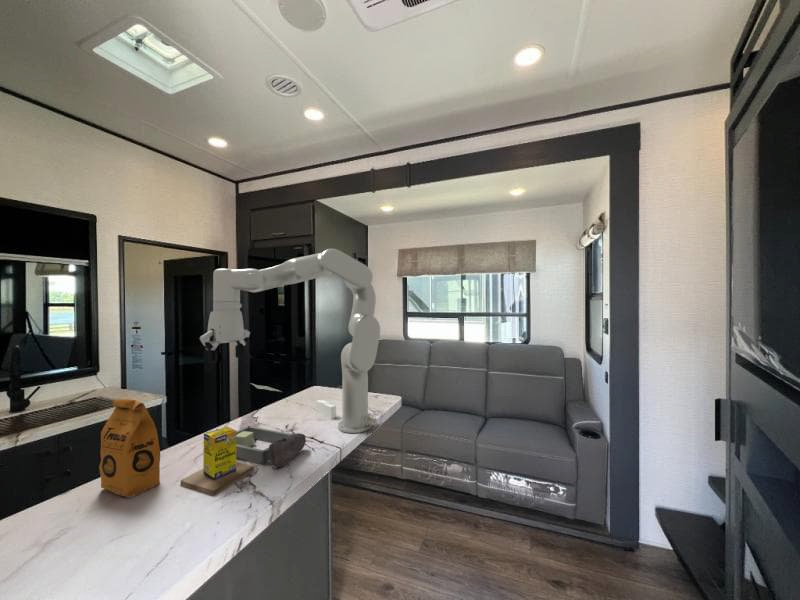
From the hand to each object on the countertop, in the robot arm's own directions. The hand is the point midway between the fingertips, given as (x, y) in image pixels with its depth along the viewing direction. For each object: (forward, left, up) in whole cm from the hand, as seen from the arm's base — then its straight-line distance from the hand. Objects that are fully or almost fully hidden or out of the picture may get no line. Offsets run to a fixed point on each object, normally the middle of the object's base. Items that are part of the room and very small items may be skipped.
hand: (226, 360), depth 100 cm
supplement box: (-13, +13, -27) cm, 33 cm away
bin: (-9, -3, -28) cm, 30 cm away
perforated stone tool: (-24, -2, -29) cm, 37 cm away
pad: (-13, +13, -28) cm, 34 cm away
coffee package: (+4, +24, -28) cm, 37 cm away
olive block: (-4, -3, -28) cm, 29 cm away
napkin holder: (-12, -36, -29) cm, 48 cm away
